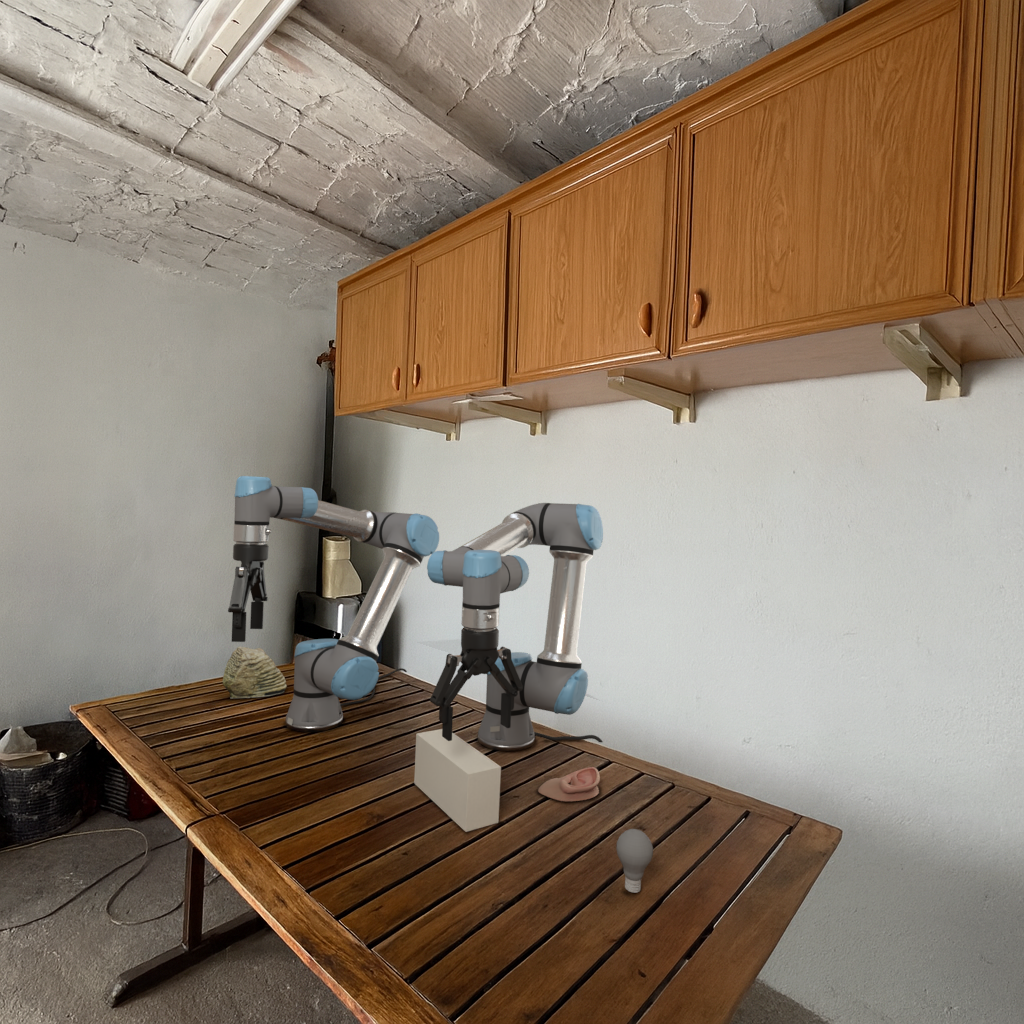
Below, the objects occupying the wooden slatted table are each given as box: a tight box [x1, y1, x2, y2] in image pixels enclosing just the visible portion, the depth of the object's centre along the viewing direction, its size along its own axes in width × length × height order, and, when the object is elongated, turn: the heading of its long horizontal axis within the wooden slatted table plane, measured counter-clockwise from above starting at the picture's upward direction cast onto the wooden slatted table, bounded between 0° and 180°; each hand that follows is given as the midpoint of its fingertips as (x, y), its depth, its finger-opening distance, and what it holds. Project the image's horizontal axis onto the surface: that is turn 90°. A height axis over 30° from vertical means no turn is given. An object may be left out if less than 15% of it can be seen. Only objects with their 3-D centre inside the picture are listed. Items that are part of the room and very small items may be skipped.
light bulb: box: [615, 828, 654, 894], centre depth 106 cm, size 6×6×10 cm
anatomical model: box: [537, 766, 601, 802], centre depth 141 cm, size 13×4×12 cm
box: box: [413, 728, 502, 833], centre depth 134 cm, size 24×8×11 cm, turn 33°
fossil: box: [222, 646, 288, 699], centre depth 198 cm, size 9×18×15 cm, turn 132°
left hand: (247, 635), depth 146 cm, fingers open, 13 cm apart
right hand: (477, 732), depth 128 cm, fingers open, 13 cm apart
